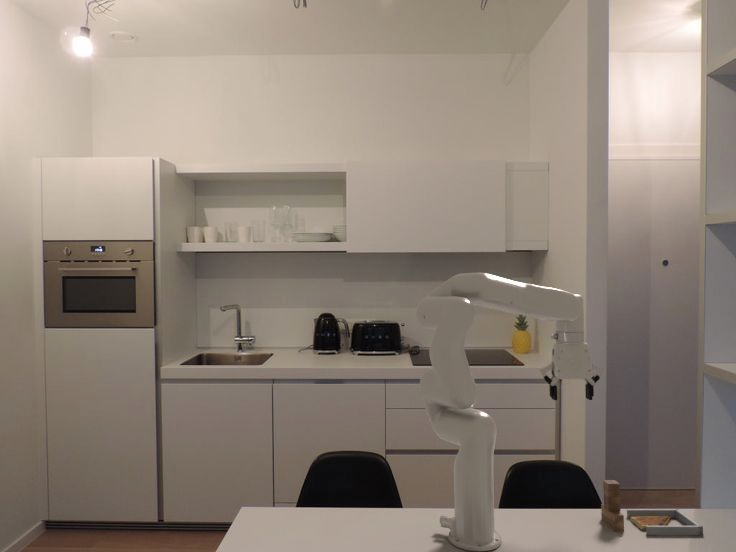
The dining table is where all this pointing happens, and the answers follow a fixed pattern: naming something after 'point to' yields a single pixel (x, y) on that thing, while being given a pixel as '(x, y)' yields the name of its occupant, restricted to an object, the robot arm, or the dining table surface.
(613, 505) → the wooden step block
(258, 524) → the dining table surface
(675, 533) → the frame
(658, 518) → the shard
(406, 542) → the dining table surface
